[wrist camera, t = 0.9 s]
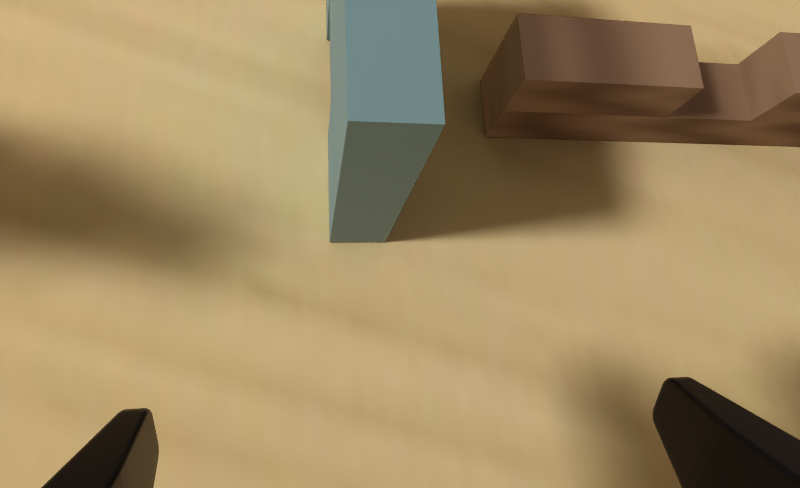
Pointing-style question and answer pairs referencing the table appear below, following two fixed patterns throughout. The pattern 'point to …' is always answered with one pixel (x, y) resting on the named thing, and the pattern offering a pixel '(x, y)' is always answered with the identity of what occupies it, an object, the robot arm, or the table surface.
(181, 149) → the table surface
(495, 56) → the walnut slotted rail
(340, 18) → the teal slotted plate
